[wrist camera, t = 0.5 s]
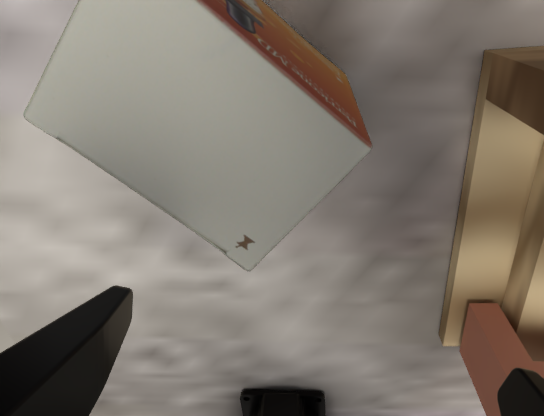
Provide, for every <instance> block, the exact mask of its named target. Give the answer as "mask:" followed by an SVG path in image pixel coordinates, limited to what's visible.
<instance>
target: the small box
mask: <svg viewBox="0 0 544 416" xmlns="http://www.w3.org/2000/svg"><path fill="white" fill-rule="evenodd" d="M24 117H25V119H26V120H27V121H28V122H30V123H31V124H33V125H35V126H36V127H38V128H40V129H41V130H43V131H44V132H46V133H47V134H49V135H50V136H52V137H54V138H56V139H57V140H59V141H61V142H62V143H64V144H65V145H67V146H68V147H70V148H72V149H73V150H75V151H76V152H78V153H79V154H81V155H82V156H84V157H85V158H87V159H88V160H90V161H91V162H92V163H94V164H95V165H97V166H98V167H100V168H101V169H103V170H104V171H106V172H107V173H109V174H110V175H112V176H113V177H115V178H116V179H118V180H119V181H121V182H122V183H124V184H125V185H127V186H128V187H129V188H131V189H132V190H134V191H135V192H137V193H138V194H140V195H141V196H143V197H144V198H145V199H147V200H148V201H150V202H151V203H153V204H154V205H156V206H157V207H159V208H160V209H162V210H163V211H164V212H166V213H167V214H169V215H170V216H172V217H173V218H175V219H176V220H178V221H179V222H180V223H182V224H183V225H185V226H186V227H187V228H189V229H190V230H192V231H193V232H195V233H196V234H198V235H199V236H200V237H202V238H203V239H205V240H206V241H207V242H209V243H210V244H212V245H213V246H214V247H216V248H217V249H219V250H220V251H221V252H222V253H223V254H225V255H226V256H227V257H228V258H230V259H231V260H233V261H234V262H235V263H237V264H238V265H239V266H240V267H242V268H243V269H244V270H246V271H251V270H252V269H253V268H254V267H255V266H256V265H257V264H258V263H259V262H260V261H261V260H262V259H263V258H264V257H265V256H266V255H267V254H268V253H269V252H270V251H271V250H272V249H273V248H274V247H275V246H276V245H277V244H278V243H279V242H280V241H281V240H282V239H283V238H284V237H285V236H286V235H287V234H288V233H289V232H290V231H291V230H292V229H293V228H294V227H295V226H296V225H297V224H298V223H299V222H300V221H301V220H302V219H303V218H304V217H305V216H306V215H307V214H308V213H309V212H310V211H311V210H312V209H313V208H314V207H315V206H316V205H317V204H318V203H319V202H320V201H321V200H322V199H323V198H324V197H325V196H326V195H327V194H328V193H329V192H330V191H331V190H332V189H333V188H334V187H335V186H336V185H337V184H338V183H339V182H340V181H341V180H342V179H343V178H344V177H345V176H346V175H347V174H348V173H349V172H350V171H351V170H352V169H353V168H354V167H355V166H356V165H357V164H358V163H359V162H360V161H361V160H362V159H363V158H364V157H365V156H366V155H367V154H368V153H369V152H370V151H371V149H372V143H371V141H370V138H369V136H368V133H367V130H366V128H365V125H364V122H363V119H362V117H361V114H360V111H359V109H358V106H357V103H356V100H355V98H354V95H353V92H352V89H351V87H350V84H349V81H348V79H347V76H346V75H345V74H344V73H343V72H342V71H341V70H340V69H339V68H337V67H336V66H335V65H334V64H333V63H331V62H330V61H329V60H328V59H327V58H325V57H324V56H323V55H322V54H321V53H319V52H318V51H317V50H316V49H315V48H314V47H312V46H311V45H310V44H309V43H308V42H307V41H306V40H305V39H303V38H302V37H301V36H300V35H299V34H298V33H297V32H296V31H295V30H293V29H292V28H291V27H290V26H289V25H288V24H287V23H286V22H285V21H284V20H282V19H281V18H280V17H279V16H278V15H277V14H276V13H275V12H274V11H273V10H272V9H270V8H269V7H268V6H267V5H266V4H265V3H264V2H263V1H262V0H79V1H78V3H77V5H76V7H75V9H74V11H73V13H72V15H71V17H70V19H69V21H68V23H67V25H66V27H65V29H64V31H63V34H62V36H61V38H60V40H59V42H58V44H57V46H56V48H55V50H54V52H53V54H52V56H51V58H50V60H49V62H48V64H47V66H46V68H45V70H44V72H43V74H42V76H41V79H40V81H39V83H38V85H37V87H36V89H35V91H34V93H33V95H32V97H31V99H30V101H29V103H28V105H27V107H26V109H25V111H24Z"/></svg>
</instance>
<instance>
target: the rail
mask: <svg viewBox="0 0 544 416" xmlns="http://www.w3.org/2000/svg"><path fill="white" fill-rule="evenodd" d="M469 303H498V305H499V306H500V308H501V310H502V311H503V313H504V315H505V316H506V318H507V320H508V321H509V323H510V324H511V326H512V328H513V329H514V331H515V333H516V334H517V336H518V338H519V339H520V341H521V343H522V344H523V346H524V348H525V349H526V351H527V353H528V354H529V356H530V358H531V359H532V361H544V46H535V47H521V48H507V49H493V50H485V51H484V57H483V63H482V69H481V75H480V82H479V88H478V94H477V100H476V107H475V113H474V119H473V125H472V131H471V138H470V144H469V150H468V156H467V162H466V169H465V175H464V181H463V187H462V193H461V200H460V206H459V212H458V218H457V225H456V231H455V237H454V243H453V249H452V256H451V262H450V268H449V274H448V280H447V287H446V293H445V299H444V305H443V311H442V318H441V324H440V330H439V336H440V339H441V342H442V344H443V346H461V342H462V337H463V332H464V327H465V322H466V317H467V312H468V307H469Z"/></svg>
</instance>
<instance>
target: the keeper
mask: <svg viewBox="0 0 544 416" xmlns="http://www.w3.org/2000/svg"><path fill="white" fill-rule="evenodd" d="M460 353H461V356H462V358H463V360H464V363H465V365H466V367H467V370H468V372H469V375H470V377H471V379H472V382H473V384H474V387H475V389H476V391H477V394H478V396H479V399H480V401H481V403H482V406H483V408H484V411H485V413H486V415H487V416H501V414H500V410H499V405H498V401H497V393H498V390H499V388H500V386H501V385H502V383H503V382H504V381H505V379H506V378H507V376H508V375H509V373H510V372H511V371H512V370H513V369H514V368H524V369H529V370H533V371H535V372H537V373H538V374H539V375H540V376H541V377H543V378H544V361H532V359H531V358H530V356H529V354H528V353H527V351H526V349H525V348H524V346H523V344H522V343H521V341H520V339H519V338H518V336H517V334H516V333H515V331H514V329H513V328H512V326H511V324H510V323H509V321H508V320H507V318H506V316H505V315H504V313H503V311H502V310H501V308H500V306H499V305H498V303H469V307H468V312H467V317H466V322H465V327H464V332H463V337H462V342H461V347H460Z"/></svg>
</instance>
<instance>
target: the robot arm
mask: <svg viewBox="0 0 544 416" xmlns="http://www.w3.org/2000/svg"><path fill="white" fill-rule="evenodd" d="M132 304H133V292H132V290H131V289H130V288H126V287H121V286H112V287H110V288H109V289H107V290H105V291H104V292H102V293H100V294H99V295H97V296H95V297H94V298H92V299H90V300H89V301H87V302H85V303H83V304H82V305H80V306H78V307H77V308H75V309H73V310H72V311H70V312H68V313H67V314H65V315H63V316H62V317H60V318H58V319H57V320H55V321H53V322H52V323H50V324H48V325H47V326H45V327H43V328H42V329H40V330H38V331H36V332H35V333H33V334H31V335H30V336H28V337H26V338H25V339H23V340H21V341H20V342H18V343H16V344H15V345H13V346H12V347H10V348H8V349H6V350H5V351H3V352H1V353H0V416H89V414H90V413H91V411H92V409H93V407H94V405H95V403H96V402H97V400H98V398H99V396H100V394H101V392H102V390H103V388H104V386H105V384H106V381H107V379H108V377H109V374H110V372H111V370H112V367H113V365H114V362H115V360H116V357H117V355H118V353H119V350H120V348H121V345H122V343H123V340H124V338H125V336H126V333H127V331H128V328H129V326H130V323H131V319H132ZM240 400H241V406H242V411H243V416H325V395H324V393H322V392H319V391H270V390H244V391H242V392H241V397H240ZM497 401H498V405H499V410H500V414H501V416H544V378H543V377H541V376H540V375H539V374H538V373H537V372H535V371H533V370H529V369H524V368H514V369H513V370H512V371H511V372H510V373H509V375H508V376H507V378H506V379H505V381H504V382H503V383H502V385H501V386H500V388H499V390H498V393H497Z"/></svg>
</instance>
